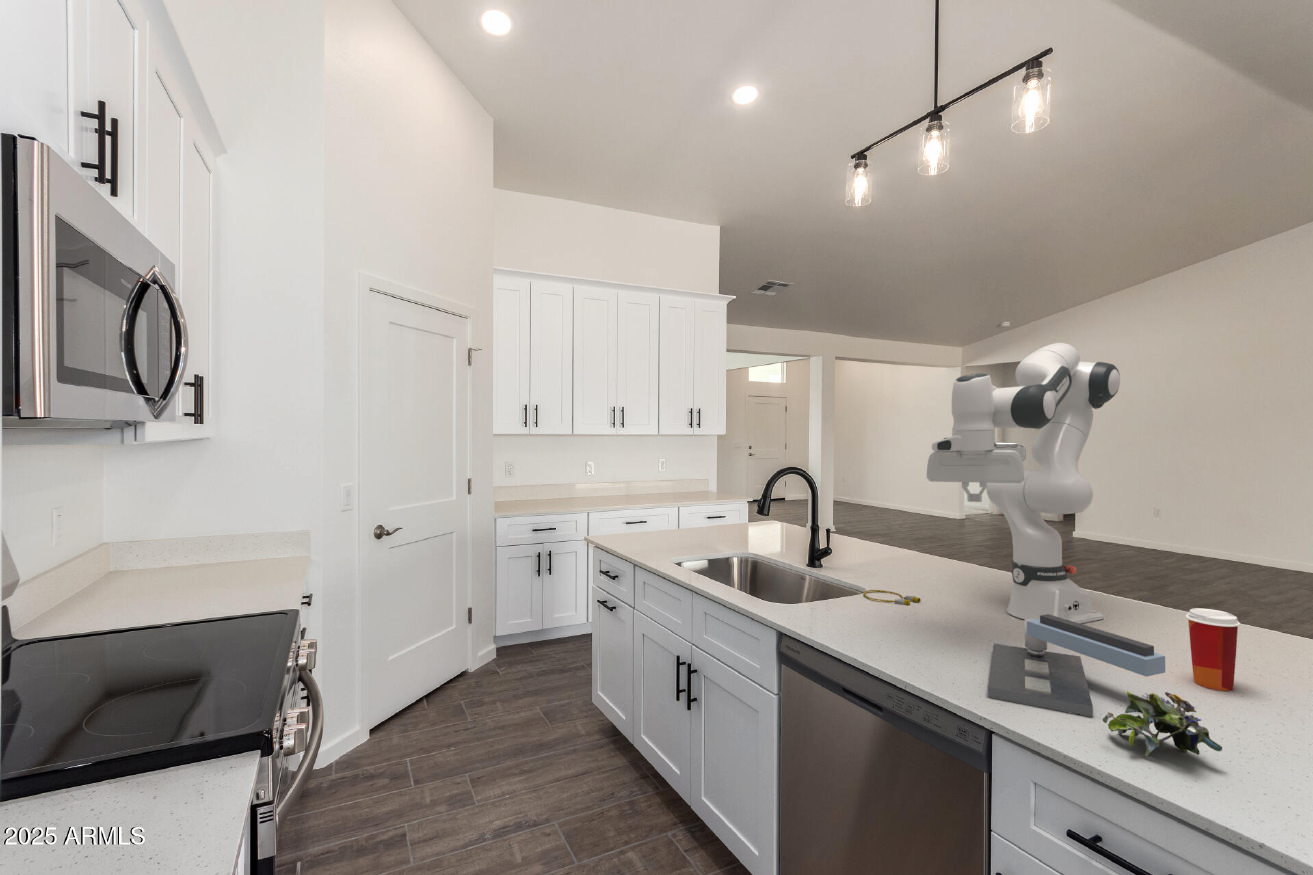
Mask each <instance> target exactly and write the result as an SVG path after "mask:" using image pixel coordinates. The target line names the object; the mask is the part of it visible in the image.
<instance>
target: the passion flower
mask: <svg viewBox="0 0 1313 875" xmlns="http://www.w3.org/2000/svg"><path fill="white" fill-rule="evenodd" d="M1126 695H1127V697H1128V701H1129V705H1127V707H1126V708H1125V711H1124V713H1121V714H1119V715H1116V717H1115V716H1114V714H1113V713H1112V712H1110V711H1108V712H1107V714H1106V715H1105V716H1104V717H1103V718H1102V722H1103V723H1105V724H1107V723H1108V724H1107V726H1108V729H1109V730H1110V732H1117V733H1118V735H1120V736H1122V735H1123V734H1126V733H1127V731H1131V732H1129V733H1130V734H1129V737H1128V742H1129V745H1130V747H1131V748H1133V747H1134V743H1135V741H1136V737H1138V736H1140V735H1142V736H1144V738H1145V739H1144V744H1145V747H1146V751H1145V754H1144V755H1143V756H1142V757H1141V758H1142V759H1143V758H1147V757H1148V755H1149V754H1151V752H1153V751H1154V750H1155V749H1156V748H1158V747H1161V746H1163V743H1164V742H1165V741H1167V740H1169V739H1171V738H1172V741H1173V744H1174V746H1175V747H1176V748H1177V749H1178V750H1179V751H1181V752H1184V753H1185V752H1186V753H1187V752H1191V753H1193V754H1196V755H1197V756H1199V755H1200V750H1199V747H1198V744H1201V743H1203V744H1205V745H1206V746H1207V747H1209V749H1210V748H1211V749H1212V750H1214V751H1216V752H1222V751H1223V746H1221V745H1220V744H1218V743H1216V742H1215V741H1214V740H1212V739H1211V737H1210V731H1209V730H1208V728H1207V727H1204V726H1202V725H1200V723H1199V722H1201V721H1202V719H1201V718H1198V717H1196V716H1195V715H1193V714H1186V713H1197V711H1196V710H1195V707H1194V706H1193V705H1192V704H1191V703H1190V701H1188V700H1185V699H1182V698H1181V696H1179V695H1178V694H1175V693H1174V694H1172V693H1170V692H1168V691H1165V692H1164V695H1165V696H1166V697H1167V698H1169V699H1170V700H1171V701H1172V703H1173V704H1172V703H1171V702H1170V701H1169V700H1168V699H1165V698H1163V696H1159V695H1158V694H1156V693H1154V692H1152V693H1151V692H1150V693H1149V694H1148V693H1145V694H1144V695H1143V694H1141V696H1138V695H1136V694H1133V692H1131V691H1130V690H1126ZM1145 695H1146V696H1145ZM1175 705H1176V706H1175ZM1131 713H1141V715H1142V716H1143V717H1142V716H1141V715H1140V714H1137V715H1132V714H1131ZM1110 718H1112V719H1111V720H1109V719H1110ZM1108 720H1109V722H1108ZM1151 724H1153V726H1154V729H1155V730H1156V731H1157V732H1156V733H1153V732H1152V731H1151V729H1150V725H1151ZM1143 731H1144V732H1146V733H1148V734H1146V733H1144V732H1143ZM1160 734H1169V735H1166V736H1165V737H1162V738H1160V739H1159V738H1158V737H1159V735H1160Z"/></svg>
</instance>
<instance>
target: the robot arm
mask: <svg viewBox="0 0 1313 875" xmlns="http://www.w3.org/2000/svg"><path fill="white" fill-rule="evenodd" d="M1015 380H1016V383H1017V385H1018V386H1011V387H997V386H995V385H993V383H992V379H991V375H990V374H988V373H972V374H966V375H962V376H959V377H957V378H956V379H954V382H953V384H952V390H951V391H952V393H951V415H952V418H953V424H952V427H951V428H952V429H951V434H952V435H951V436H949V437H944V438H943V439H940V440H935V441H934V442H932V444H931V450H932V451H933V452H932V453H930V454H929V456H928V460H927V464H926V465H927V466H926V478H927V480H928V481H929V482H938V483H940V482H941V483H946V482H947V483H961V487H962V490H963V491H964V492H965V494H966V495H967V502H972V503H973V502H975V503H982V502H983V498H982V497H983V494H984V492H986V494H987V497H988V499H989V500H990V502H991V503H992V504H994V505H995V506H996V508H998V509H999V510H1000V512H1002V514H1003V515H1004V517H1005V519H1006V521H1007V523H1008V526H1009V529H1010V532H1011V539H1012V557H1013V558H1012V561H1011V572H1010V573H1011V577H1012V583H1011V591H1010V598H1009V602H1008V606H1007V609H1006V612H1007V613H1008V614H1009V615H1011V616H1012V617H1016V618H1019V619H1021V620H1025V619H1040V615H1046V614H1049V615H1053V616H1056V617H1059V618H1063V619H1066V620H1069V621H1073V622H1076V623H1079V624H1085V623H1091V622H1095V621H1100V620H1104V614H1103V613H1102V612H1099V611H1097V610H1095V609H1093V604H1092V600H1091V595H1089V593H1088V592H1087V591H1086V590H1084V589H1083V588H1082V587H1080V586H1079V585H1078V584H1076V583H1075V582H1074V581H1072V579H1070V578H1069V575H1068V574H1071V575H1075V574H1076V573H1077V571H1078V570H1077V567H1076V566H1073V565H1069V564H1068V565H1066V566H1065V565H1064V564H1063V546H1062V545H1063V539H1062V537H1061V535H1060V533H1059V532H1058V531H1057V530H1056V529H1055V528H1053V527H1052V526H1050V525H1049V524H1048V523H1047V522H1046V521H1045V519H1044V518H1043V516H1042V513H1047V514H1048V513H1049V514H1058V515H1067V514H1069V515H1071V514H1079V513H1080V514H1081V513H1083V512H1084V511H1085V510H1087V509H1088V508H1089V507H1090V505H1091V503H1092V501H1093V497H1094V495H1093V494H1094V493H1093V488H1092V485H1091V483H1090V482H1089V480H1087V478H1086V477H1085V476H1083V475H1082V474H1081V473H1080V471H1079V468H1078V465H1079V460H1080V457H1081V454H1082V452H1083V449H1084V448H1085V445H1086V442H1087V440H1088V438H1089V435H1090V432H1091V429H1092V425H1093V420H1094V411H1093V409H1094V410H1095V409H1096V410H1097V409H1100V408H1102V407H1103V406H1104V405H1105V404H1106V403H1108V402H1110V400H1112V398H1114V397H1115V396H1116V395H1117V393H1118V391H1119V388H1120V384H1121V374H1120V371H1119V369H1118V367H1117V366H1116V365H1114V364H1113V363H1110V362H1104V361H1097V362H1094V361H1093V362H1092V361H1081V358H1080V353H1079V352H1078V350H1077V349H1076V348H1075V347H1074V346H1073V345H1071V344H1068V343H1065V342H1054V343H1051V344H1048V345H1045V346H1043V347H1039V348H1038V349H1037V350H1035V351H1033V352H1032V353H1030V354H1029V355H1027V356H1026V357H1024V358H1023V359H1022V360H1021V361H1020V363H1019V364H1018V365H1017V367H1016V369H1015ZM995 428H996V429H1003V428H1004V429H1011V428H1014V429H1015V428H1022V429H1035V430H1036V429H1037V430H1038V429H1039V431H1038V433H1037V434H1036V437H1035V439H1034V441H1033V443H1032V445H1031V455H1032V457H1033V458H1034V460H1035V461H1036V462H1037V463H1038V464H1039V465H1041V468H1040V469H1038V470H1037V469H1036V470H1031V469H1029V470H1028V469H1024V468H1025V467H1024V464H1023V462H1024V461H1025V459H1026V456H1027V455H1026V454H1027V453H1026V448H1025V446H1023V445H1022V444H1020V443H1018V442H1015V441H1014V442H996V438H995V437H996V432H995ZM970 483H979V488H981V489H980V490H979V492H978V493H971V491H970V490H969V488H968V487H970Z"/></svg>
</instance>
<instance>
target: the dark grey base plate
mask: <svg viewBox="0 0 1313 875" xmlns="http://www.w3.org/2000/svg"><path fill="white" fill-rule="evenodd" d="M991 652H992V654H991V661H990V666H989V667H990V669H989V674H988V675H989V676H988V681H987V682H988V683H987V698H990V699H994V700H1000V701H1004V702H1005V701H1006V702H1009V701H1011V702H1010V703H1014V704H1015V703H1016V704H1020V705H1021V704H1022V705H1025V704H1026V706H1031V707H1035V706H1037V707H1036V708H1040V707H1041V708H1042V709H1046V708H1048V709H1047V710H1051V709H1052V710H1053V711H1056V710H1059V711H1058V712H1061V711H1063V712H1062V713H1066V712H1071V713H1073V714H1072V715H1077V714H1080V715H1079V716H1082V715H1084V716H1083V717H1087V716H1089V718H1092V717H1093V718H1094V706H1093V702H1092V698H1091V694H1090V693H1091V692H1090V691H1089V685H1088V682H1087V677H1086V674H1085V669H1084V667H1083V666H1084V665H1083V662H1082V658H1081V656H1079V655H1073V654H1067V653H1066V654H1065V653H1060V652H1055V651H1053V652H1052V651H1047V650H1045V651H1037V650H1032V649H1029V648H1026V647H1019V646H1014V645H1013V646H1012V645H1007V644H998V643H993V644H992V651H991ZM1071 713H1070V714H1071Z"/></svg>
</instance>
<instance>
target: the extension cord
mask: <svg viewBox="0 0 1313 875" xmlns="http://www.w3.org/2000/svg"><path fill="white" fill-rule="evenodd" d="M871 593H882V594H883V593H884V594H889V593H890V595H896V596H899V597H901V598H899V599H898V598H897V599H894V600H890V599H889V600H888V599H880V598H879V599H878V598H873V597H870V596H868V595H867V594H871ZM864 595H865V597H866V599H867V600H869V601H871V602H872V601H873V602H876V603H894V604H896V605H903V606H911V602H912V603H918V604H920V603H921V597H916V596H914V595H905V596H903V595H902V594H900V593H897V592H894V591H887V590H883V589H882V590H880V589H868V590H864V592H863V596H864ZM865 597H864V598H865Z"/></svg>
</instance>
